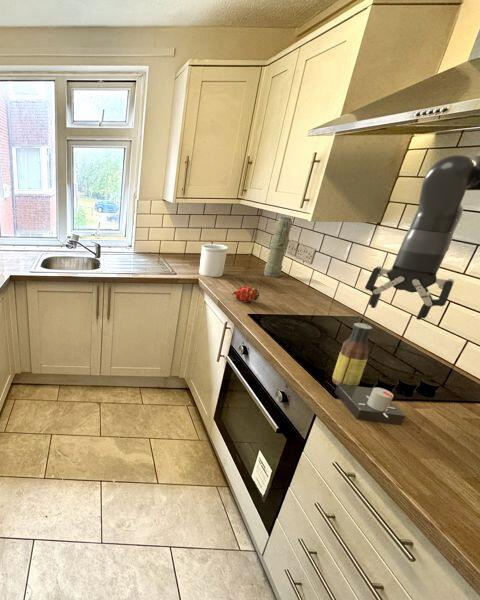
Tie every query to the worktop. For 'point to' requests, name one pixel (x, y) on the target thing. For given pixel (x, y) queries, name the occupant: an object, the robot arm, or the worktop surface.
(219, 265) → the utensil holder
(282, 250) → the grey green carved column
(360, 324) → the sauce bottle
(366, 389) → the rotary knob panel
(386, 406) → the dial
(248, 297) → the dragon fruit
